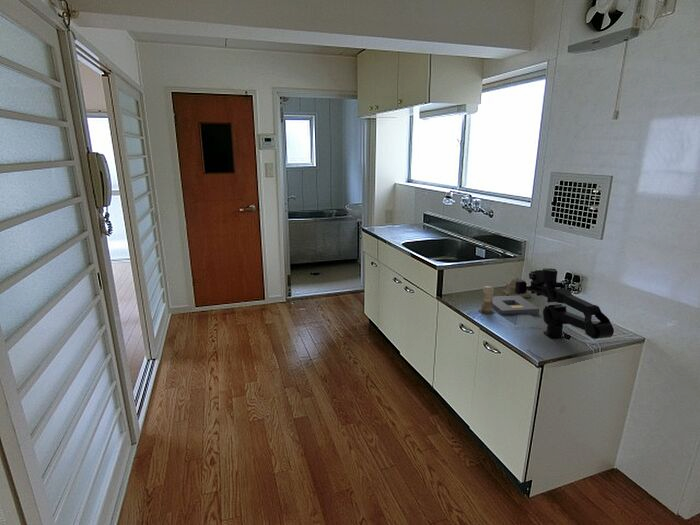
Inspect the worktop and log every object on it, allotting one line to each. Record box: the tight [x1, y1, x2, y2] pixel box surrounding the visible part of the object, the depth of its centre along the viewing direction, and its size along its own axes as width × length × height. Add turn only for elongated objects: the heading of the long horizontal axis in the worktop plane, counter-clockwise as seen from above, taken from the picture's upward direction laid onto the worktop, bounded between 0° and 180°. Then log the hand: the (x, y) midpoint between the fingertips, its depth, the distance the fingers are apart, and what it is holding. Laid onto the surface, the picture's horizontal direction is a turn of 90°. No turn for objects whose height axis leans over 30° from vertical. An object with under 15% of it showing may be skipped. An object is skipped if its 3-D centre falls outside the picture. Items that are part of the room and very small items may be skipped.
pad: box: [478, 308, 496, 316], centre depth 203 cm, size 8×8×1 cm
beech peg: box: [480, 285, 495, 313], centre depth 201 cm, size 5×5×13 cm
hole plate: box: [492, 295, 540, 315], centre depth 210 cm, size 20×20×3 cm
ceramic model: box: [502, 277, 531, 298], centre depth 230 cm, size 14×11×10 cm
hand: (523, 283), depth 198 cm, fingers open, 9 cm apart
